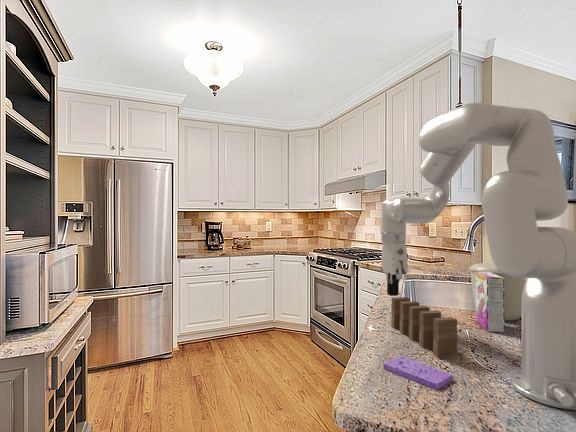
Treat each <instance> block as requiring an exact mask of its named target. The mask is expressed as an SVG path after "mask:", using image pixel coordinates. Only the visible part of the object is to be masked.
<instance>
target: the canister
mask: <svg viewBox="0 0 576 432" xmlns="http://www.w3.org/2000/svg"><path fill="white" fill-rule="evenodd" d="M491 261H492V262H479V263H474V264H472V265H471V266H468V270H469V271H470V278H471V288H472V289H471V290H472V297H473V303H474V308H475V310H476V273H475V272H491V273H493V274H496V275H498V276H500V277H503V278H504V319H505V321H506V322H508V321H509V322H511V321H512V322H513V321H517V320H518V319H519V318H521V317H522V292H523V288H524V285H525V282H526V279H515V278H511V277H508V276H506V275H504V274H503V273H502V272H500V271H499V270H498V268H497V267H496V265H495V264H494V262H493V259H492V258H491Z"/></svg>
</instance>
